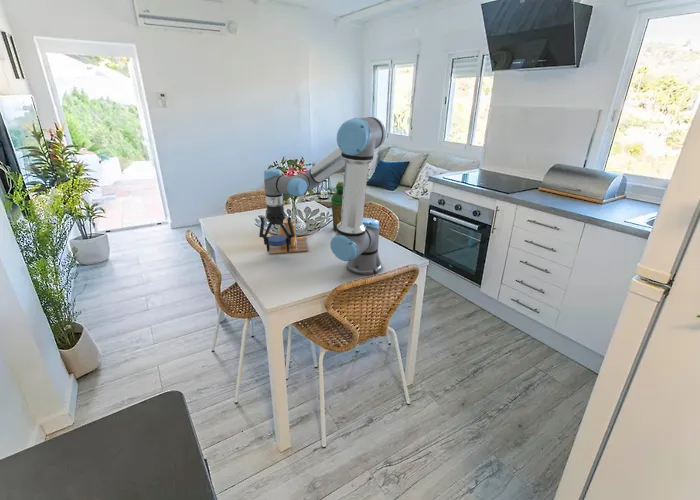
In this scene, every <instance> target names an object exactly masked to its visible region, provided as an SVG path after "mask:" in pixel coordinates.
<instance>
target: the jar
mask: <svg viewBox="0 0 700 500" xmlns="http://www.w3.org/2000/svg"><path fill="white" fill-rule="evenodd" d="M283 222H284V224H285V226H286V227H287V229H288V231H289V233H290V234H291V232H290V229H289V225H288V221H286V219H284V220H283ZM291 222H292V226H293V229H294V233H295V236H294V237H292V238H291V245H289V247H293V246H295V245H296V237H297V229H296V223H295V219H294V218H291ZM278 235H284V236H286V234H285V232H284V230H283V229H282V227H281V226H280V225H278ZM286 237H287V236H286ZM282 247H287V243H286V244H285V245H282Z"/></svg>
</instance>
